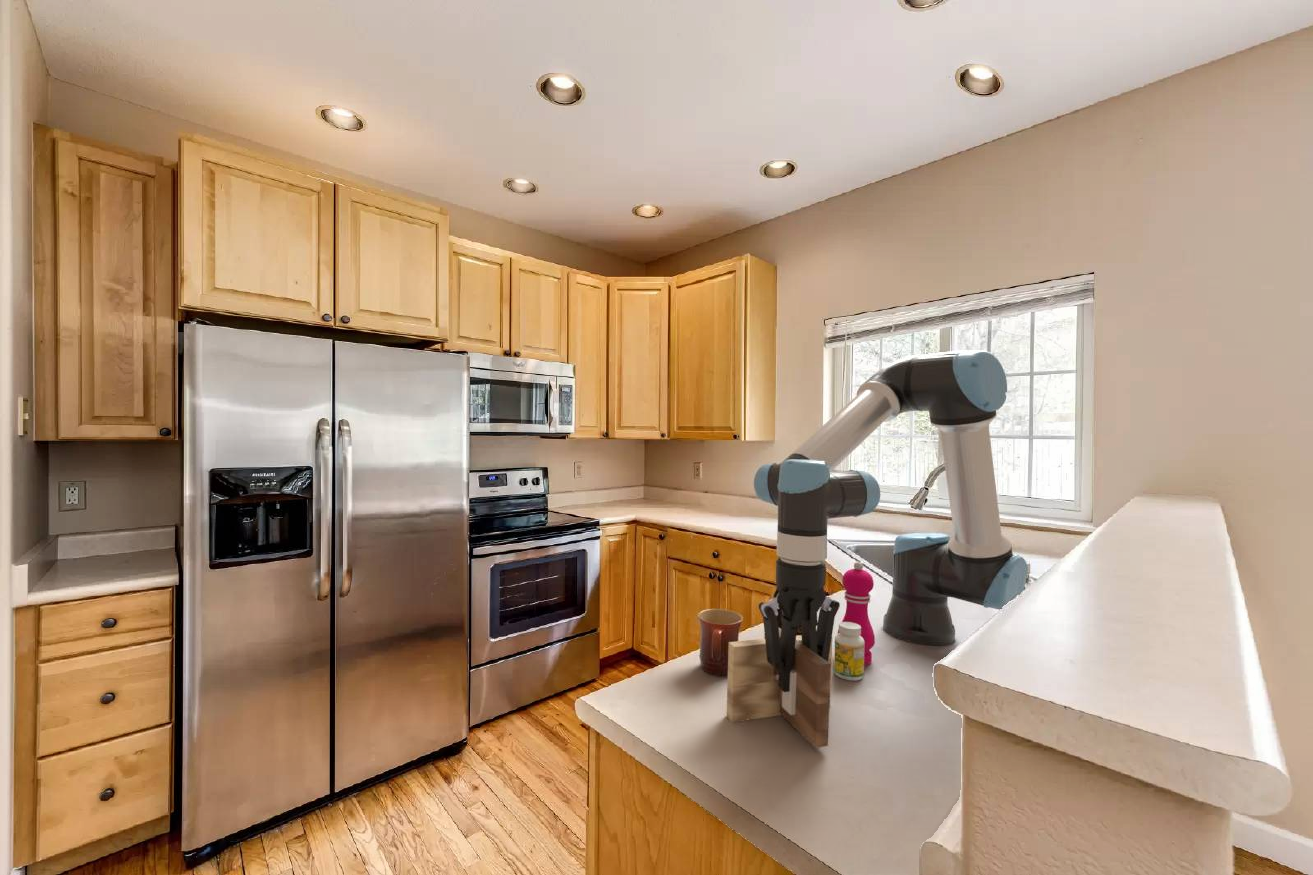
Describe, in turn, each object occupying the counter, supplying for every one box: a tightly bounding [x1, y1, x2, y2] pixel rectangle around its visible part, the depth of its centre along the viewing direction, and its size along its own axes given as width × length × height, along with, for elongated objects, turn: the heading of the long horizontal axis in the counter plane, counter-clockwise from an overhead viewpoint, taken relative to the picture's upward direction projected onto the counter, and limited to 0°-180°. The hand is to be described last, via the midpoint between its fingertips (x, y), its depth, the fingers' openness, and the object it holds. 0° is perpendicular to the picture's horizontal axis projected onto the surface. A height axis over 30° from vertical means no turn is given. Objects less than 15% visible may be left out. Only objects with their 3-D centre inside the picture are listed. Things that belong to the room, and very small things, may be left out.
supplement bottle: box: [833, 621, 865, 682], centre depth 106 cm, size 5×5×10 cm
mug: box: [696, 608, 744, 677], centre depth 106 cm, size 12×9×10 cm
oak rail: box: [726, 635, 833, 723], centre depth 92 cm, size 18×2×12 cm, turn 107°
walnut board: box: [763, 627, 832, 749], centre depth 88 cm, size 2×16×12 cm, turn 17°
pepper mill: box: [837, 561, 876, 666], centre depth 114 cm, size 7×7×20 cm
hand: (796, 709), depth 87 cm, fingers closed on walnut board, 2 cm apart
